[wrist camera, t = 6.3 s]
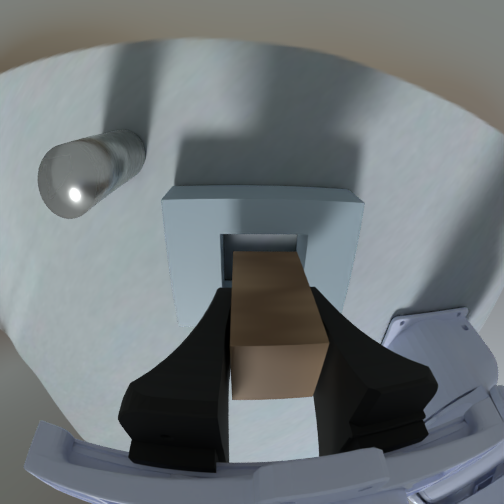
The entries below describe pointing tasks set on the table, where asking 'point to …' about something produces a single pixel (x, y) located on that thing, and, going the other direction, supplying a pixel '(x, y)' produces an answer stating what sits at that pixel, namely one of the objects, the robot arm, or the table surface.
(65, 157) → the cylinder
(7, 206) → the table surface
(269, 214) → the socket block
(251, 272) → the square bit
